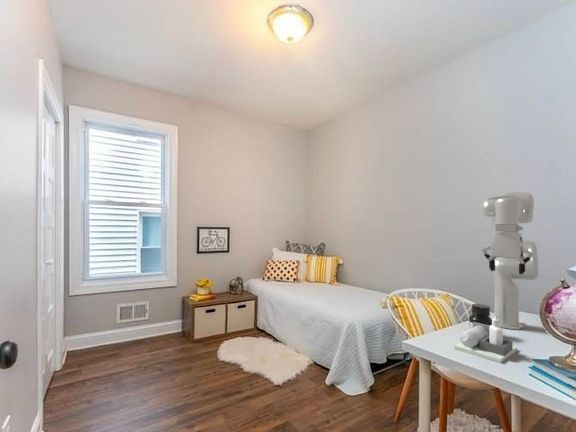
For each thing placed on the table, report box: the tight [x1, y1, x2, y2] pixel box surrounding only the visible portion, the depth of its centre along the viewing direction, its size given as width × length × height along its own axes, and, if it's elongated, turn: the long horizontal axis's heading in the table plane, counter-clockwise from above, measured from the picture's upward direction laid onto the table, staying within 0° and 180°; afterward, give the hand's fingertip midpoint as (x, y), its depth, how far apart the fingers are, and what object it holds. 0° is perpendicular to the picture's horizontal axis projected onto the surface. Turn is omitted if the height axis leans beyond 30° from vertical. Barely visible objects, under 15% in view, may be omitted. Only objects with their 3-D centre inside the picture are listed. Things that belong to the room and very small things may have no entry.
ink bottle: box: [468, 303, 493, 330], centre depth 136 cm, size 10×9×12 cm
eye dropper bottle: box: [489, 316, 504, 346], centre depth 116 cm, size 4×6×12 cm
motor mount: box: [453, 322, 518, 364], centre depth 118 cm, size 18×15×7 cm
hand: (506, 272), depth 124 cm, fingers open, 9 cm apart
